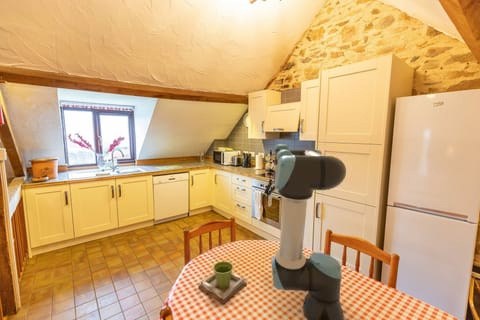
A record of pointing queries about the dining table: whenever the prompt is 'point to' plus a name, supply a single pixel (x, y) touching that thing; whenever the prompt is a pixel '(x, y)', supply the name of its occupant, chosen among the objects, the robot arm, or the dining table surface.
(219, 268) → the plant pot
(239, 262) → the dining table surface
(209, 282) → the stand
